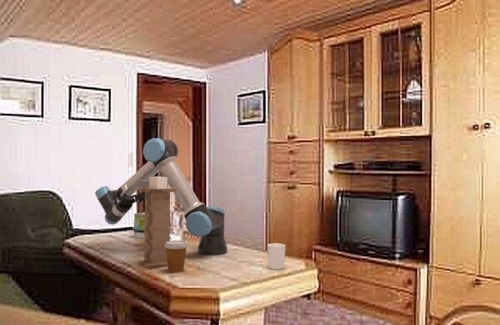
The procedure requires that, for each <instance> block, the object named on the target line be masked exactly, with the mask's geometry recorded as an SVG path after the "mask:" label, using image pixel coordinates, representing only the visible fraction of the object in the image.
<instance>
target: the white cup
mask: <svg viewBox="0 0 500 325" xmlns="http://www.w3.org/2000/svg"><path fill="white" fill-rule="evenodd" d="M285 257H286V244H283V243H278V242H277V243H276V242H275V243H269V244H267V264H268V266H267V267H268V269H270V268H272V269H271V270H282V269H281V268H283V269H284V268H285V259H286V258H285Z"/></svg>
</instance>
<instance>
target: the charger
mask: <svg viewBox="0 0 500 325" xmlns="http://www.w3.org/2000/svg"><path fill="white" fill-rule="evenodd" d="M137 187H141V188H154V189H167V188H168V182H167V177H164V176H153V177H149V180H137Z"/></svg>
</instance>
